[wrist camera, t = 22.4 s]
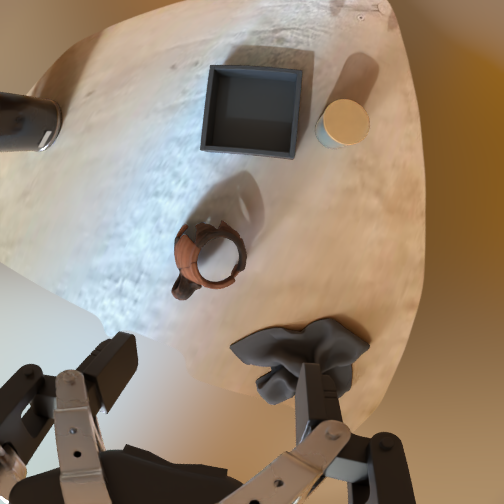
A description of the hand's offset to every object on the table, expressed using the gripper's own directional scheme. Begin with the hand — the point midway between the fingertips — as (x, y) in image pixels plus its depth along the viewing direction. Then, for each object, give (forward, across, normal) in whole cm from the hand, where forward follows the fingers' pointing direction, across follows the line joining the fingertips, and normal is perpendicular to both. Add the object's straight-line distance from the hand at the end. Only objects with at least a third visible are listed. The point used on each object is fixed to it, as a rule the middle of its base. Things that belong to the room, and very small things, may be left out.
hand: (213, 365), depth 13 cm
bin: (+28, +2, -16) cm, 32 cm away
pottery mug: (+28, +7, +4) cm, 29 cm away
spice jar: (+28, -8, -15) cm, 33 cm away
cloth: (+28, -9, +21) cm, 36 cm away
